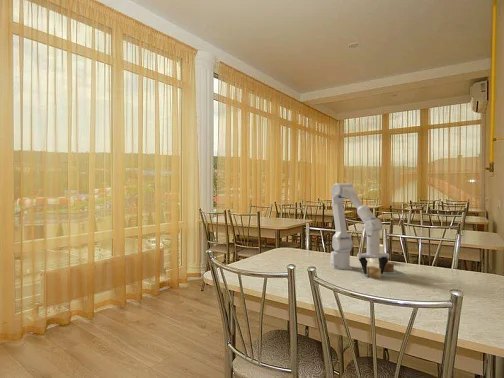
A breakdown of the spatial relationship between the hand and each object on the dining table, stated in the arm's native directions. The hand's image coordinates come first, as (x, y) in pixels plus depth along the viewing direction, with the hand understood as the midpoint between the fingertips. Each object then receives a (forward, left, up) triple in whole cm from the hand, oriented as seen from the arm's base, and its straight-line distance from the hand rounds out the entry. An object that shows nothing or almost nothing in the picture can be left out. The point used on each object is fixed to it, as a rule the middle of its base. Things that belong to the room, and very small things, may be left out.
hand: (373, 273), depth 152 cm
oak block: (0, 0, -1) cm, 1 cm away
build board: (+6, +4, -2) cm, 7 cm away
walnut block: (+10, +8, -1) cm, 13 cm away
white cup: (+13, +27, -2) cm, 30 cm away
